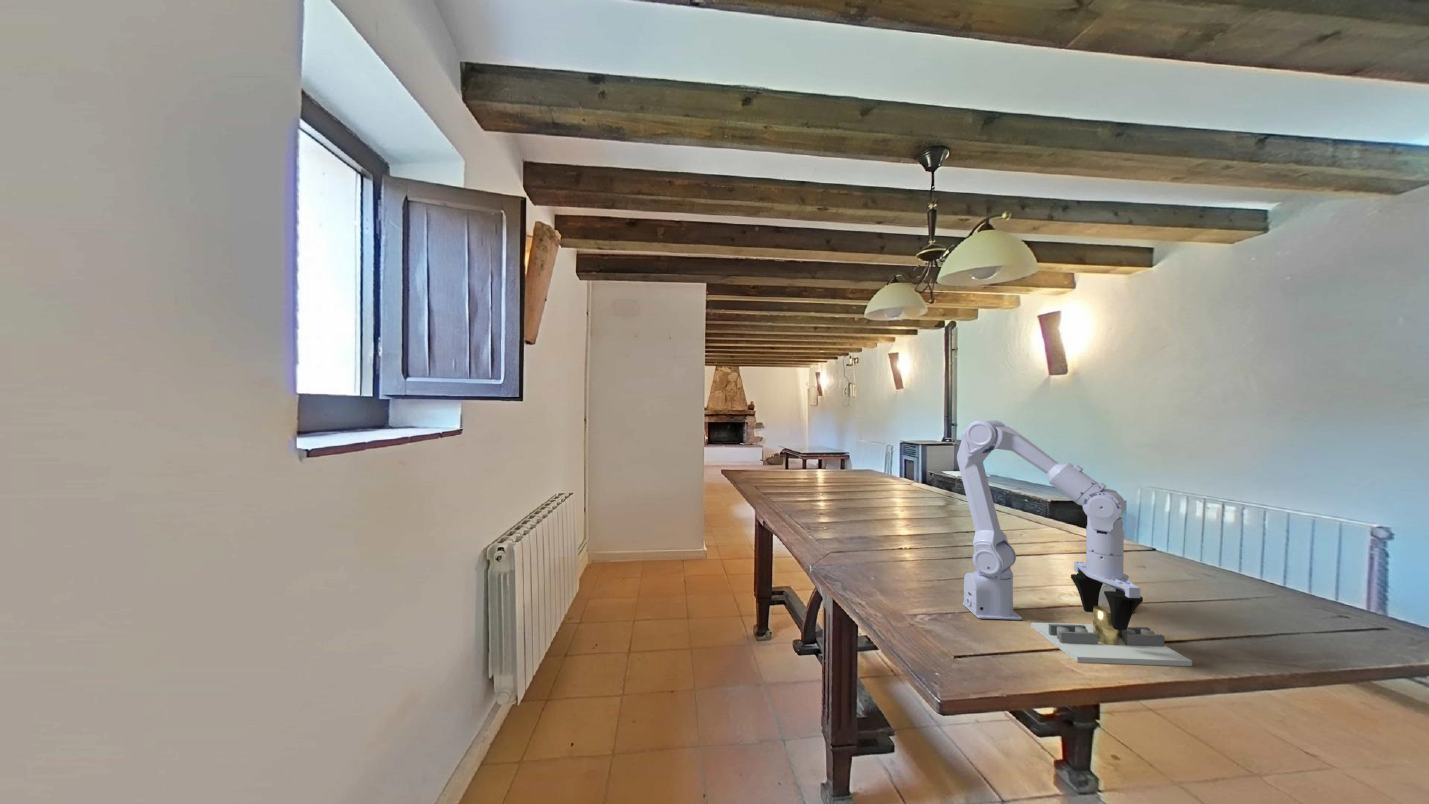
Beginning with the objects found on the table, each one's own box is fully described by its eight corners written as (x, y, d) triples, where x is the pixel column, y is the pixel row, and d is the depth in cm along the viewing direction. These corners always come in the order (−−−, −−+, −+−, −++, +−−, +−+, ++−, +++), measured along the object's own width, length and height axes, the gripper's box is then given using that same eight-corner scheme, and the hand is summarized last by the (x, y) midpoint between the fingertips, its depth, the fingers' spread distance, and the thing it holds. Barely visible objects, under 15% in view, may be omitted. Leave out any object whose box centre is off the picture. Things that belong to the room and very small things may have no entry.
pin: (1103, 644, 92) (1103, 614, 92) (1087, 634, 96) (1088, 605, 96) (1124, 645, 92) (1124, 614, 92) (1108, 635, 96) (1108, 605, 96)
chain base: (1077, 662, 87) (1077, 646, 87) (1031, 627, 101) (1031, 613, 101) (1191, 666, 86) (1191, 649, 86) (1129, 630, 100) (1129, 615, 100)
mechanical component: (1147, 615, 108) (1114, 598, 118) (1147, 596, 108) (1114, 580, 118) (1100, 613, 109) (1071, 596, 119) (1100, 594, 109) (1071, 578, 119)
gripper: (1157, 564, 86) (1157, 638, 86) (1098, 541, 101) (1098, 605, 101) (1117, 563, 87) (1117, 637, 87) (1063, 540, 101) (1063, 604, 101)
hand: (1104, 620), depth 94 cm, fingers open, 7 cm apart
